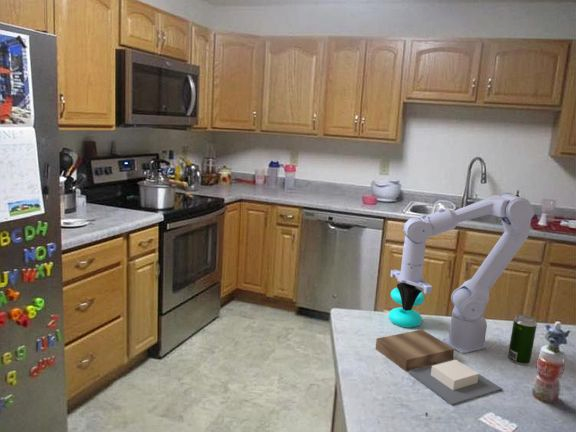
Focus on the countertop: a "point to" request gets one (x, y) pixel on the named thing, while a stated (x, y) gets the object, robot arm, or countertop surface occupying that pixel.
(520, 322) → the beer can
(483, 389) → the mat
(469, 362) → the countertop surface
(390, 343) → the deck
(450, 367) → the tile
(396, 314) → the donuts
